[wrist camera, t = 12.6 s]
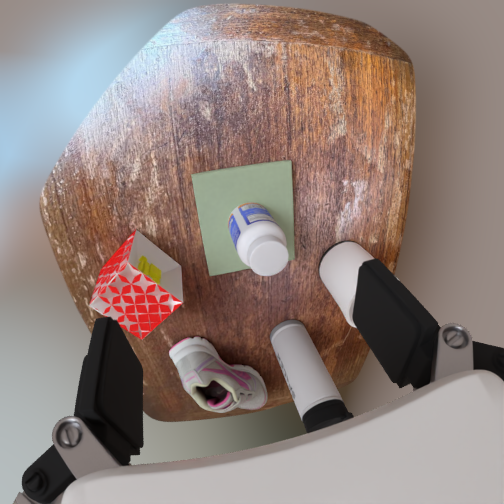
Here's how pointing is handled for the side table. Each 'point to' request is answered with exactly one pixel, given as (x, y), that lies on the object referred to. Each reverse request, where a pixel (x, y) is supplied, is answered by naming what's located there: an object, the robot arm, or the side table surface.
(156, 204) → the side table surface
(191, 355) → the running shoe
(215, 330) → the side table surface
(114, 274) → the red patterned cube box
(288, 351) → the travel mug
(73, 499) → the robot arm
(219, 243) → the mat
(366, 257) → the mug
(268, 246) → the pill bottle
